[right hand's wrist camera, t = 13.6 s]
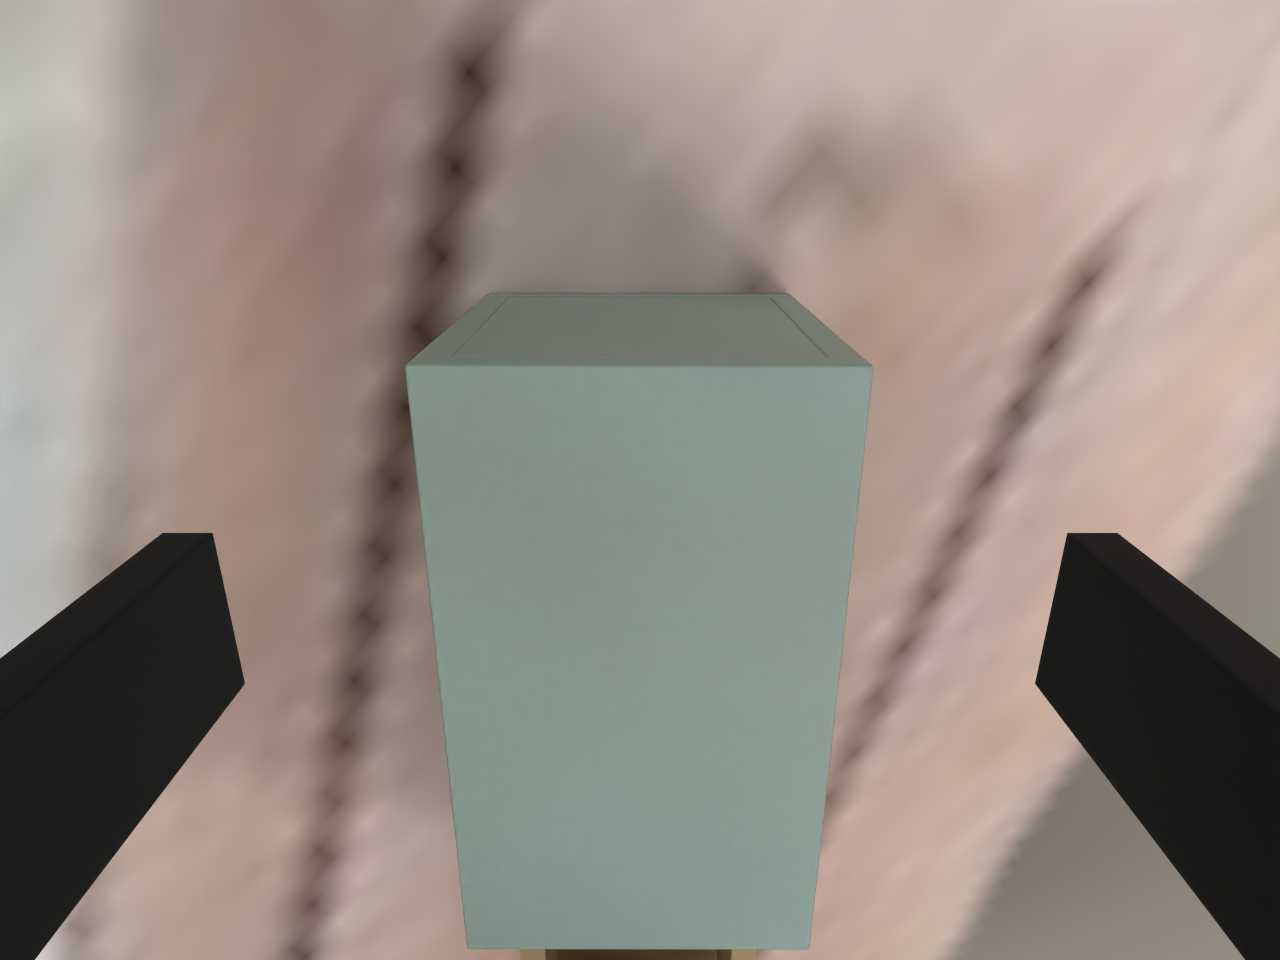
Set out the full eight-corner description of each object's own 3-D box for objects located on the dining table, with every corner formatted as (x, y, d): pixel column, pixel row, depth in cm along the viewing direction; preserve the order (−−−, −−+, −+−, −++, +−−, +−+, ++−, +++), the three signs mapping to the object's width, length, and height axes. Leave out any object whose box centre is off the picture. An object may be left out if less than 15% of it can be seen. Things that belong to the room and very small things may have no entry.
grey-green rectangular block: (760, 723, 33) (809, 950, 24) (516, 723, 33) (466, 950, 24) (790, 293, 27) (874, 365, 17) (488, 292, 27) (403, 365, 17)
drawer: (733, 988, 37) (757, 1207, 30) (543, 988, 37) (518, 1206, 30) (760, 560, 29) (804, 705, 21) (517, 559, 29) (473, 704, 21)
